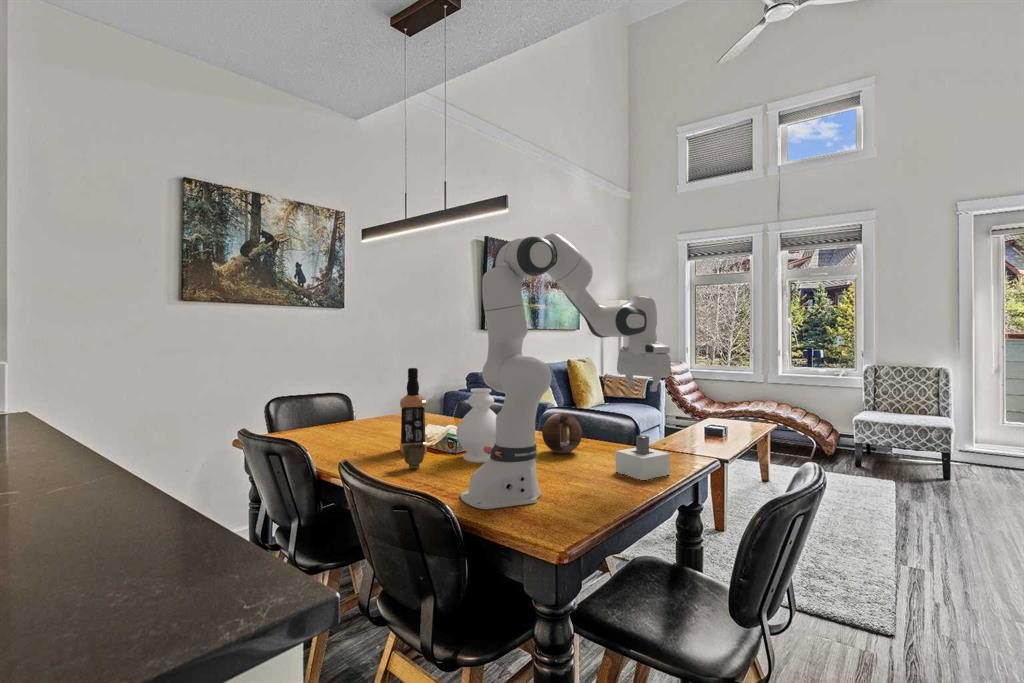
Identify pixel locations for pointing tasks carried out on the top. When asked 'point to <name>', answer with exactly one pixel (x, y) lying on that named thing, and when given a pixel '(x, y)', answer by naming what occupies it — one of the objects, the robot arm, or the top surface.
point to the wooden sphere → (562, 433)
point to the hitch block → (642, 463)
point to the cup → (413, 455)
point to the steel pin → (642, 445)
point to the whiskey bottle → (412, 413)
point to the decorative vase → (478, 426)
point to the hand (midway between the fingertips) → (642, 389)
